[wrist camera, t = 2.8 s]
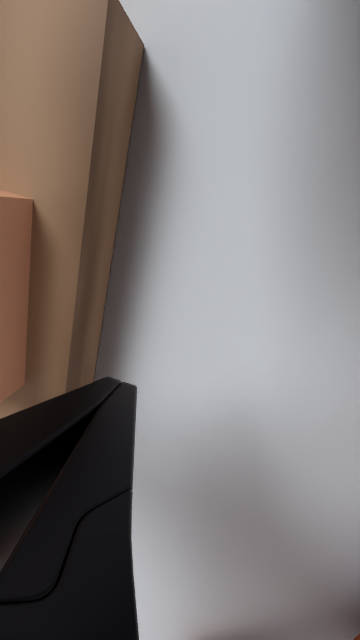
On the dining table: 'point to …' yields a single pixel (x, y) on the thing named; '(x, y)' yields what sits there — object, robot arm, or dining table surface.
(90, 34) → the board
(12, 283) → the coaster
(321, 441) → the dining table surface
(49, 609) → the robot arm
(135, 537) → the dining table surface
